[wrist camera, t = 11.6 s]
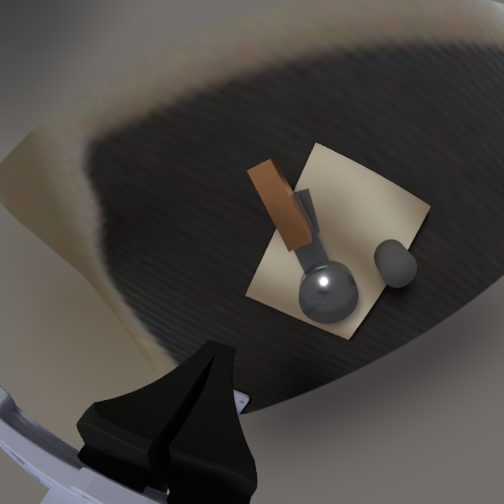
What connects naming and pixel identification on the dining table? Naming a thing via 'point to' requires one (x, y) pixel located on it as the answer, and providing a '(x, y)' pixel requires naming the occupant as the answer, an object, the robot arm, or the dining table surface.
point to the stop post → (395, 263)
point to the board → (340, 234)
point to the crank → (306, 249)
